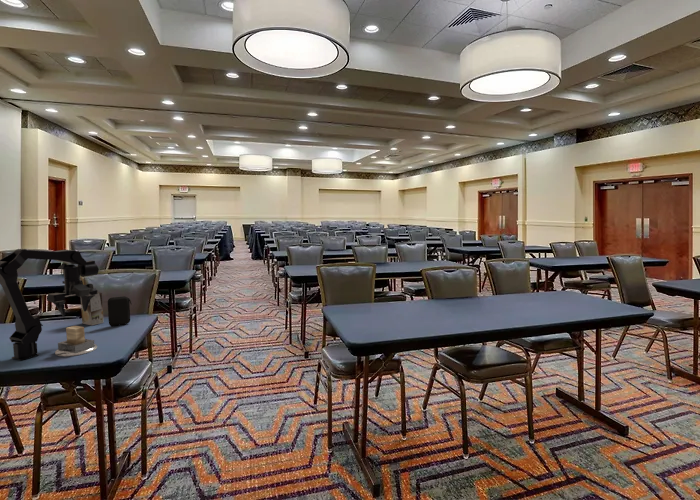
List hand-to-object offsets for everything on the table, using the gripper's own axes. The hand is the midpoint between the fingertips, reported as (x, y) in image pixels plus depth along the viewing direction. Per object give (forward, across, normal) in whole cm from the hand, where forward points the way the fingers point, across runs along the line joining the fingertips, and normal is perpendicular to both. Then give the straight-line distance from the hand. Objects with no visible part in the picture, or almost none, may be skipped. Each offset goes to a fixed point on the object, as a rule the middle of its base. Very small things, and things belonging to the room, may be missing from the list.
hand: (74, 313), depth 178 cm
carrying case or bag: (+13, +28, +8) cm, 32 cm away
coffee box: (+13, +25, +25) cm, 38 cm away
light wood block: (+12, -7, -11) cm, 18 cm away
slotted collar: (+13, -7, -11) cm, 18 cm away
